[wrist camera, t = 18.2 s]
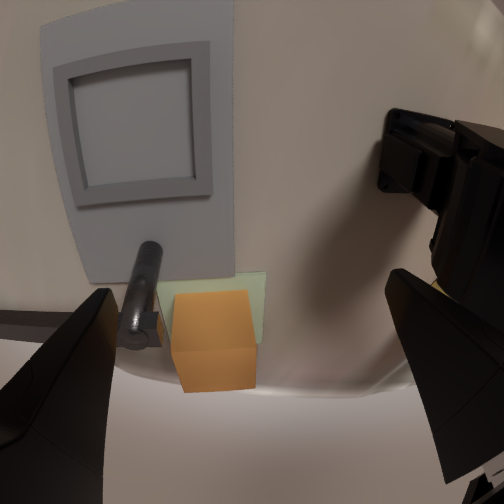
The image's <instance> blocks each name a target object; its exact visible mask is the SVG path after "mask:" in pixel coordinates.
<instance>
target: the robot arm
mask: <svg viewBox="0 0 504 504" xmlns="http://www.w3.org/2000/svg"><path fill="white" fill-rule="evenodd" d="M395 113H397V114H398V116H397V117H396V118H395ZM450 125H451V127H450ZM385 183H386V185H385V186H384V187H383V185H384V184H385ZM377 186H378V189H379V190H381V191H382V192H386V193H411V194H412V195H413V196H414V197H415V198H417V199H418V200H419V201H420V202H421V203H422V204H423V205H424V206H426V207H427V208H428V209H430V210H431V211H432V212H434V213H435V214H436V215H437V216H438V221H437V225H436V228H435V232H434V235H433V238H432V239H431V241H430V244H429V248H430V251H431V253H432V254H431V264H432V267H433V269H434V271H435V274H436V276H437V280H436V282H437V284H438V286H439V287H440V288H441V289H442V290H443V291H444V292H445V294H447V295H448V296H449V297H448V296H447V295H445V294H443V293H442V292H440V291H439V290H437V289H436V288H434V287H432V286H431V285H429V284H428V283H426V282H424V281H423V280H421V279H420V278H418V277H416V276H415V275H413V274H411V273H410V272H408V271H407V270H405V269H402V268H400V269H393V270H392V271H391V272H390V275H389V278H388V281H387V283H386V286H385V296H386V299H387V302H388V305H389V309H390V312H391V315H392V318H393V322H394V325H395V328H396V331H397V334H398V337H399V339H400V342H401V344H402V347H403V350H404V352H405V355H406V357H407V360H408V363H409V365H410V368H411V371H412V374H413V376H414V379H415V382H416V385H417V388H418V391H419V393H420V396H421V399H422V402H423V405H424V409H425V412H426V415H427V418H428V421H429V424H430V427H431V431H432V434H433V439H434V442H435V445H436V449H437V453H438V457H439V460H440V464H441V468H442V472H443V476H444V481H445V483H446V484H448V483H450V482H452V481H454V480H456V479H458V478H460V477H462V476H464V475H466V474H467V473H469V472H471V471H473V470H474V469H476V468H478V467H480V466H481V465H482V467H483V469H484V473H482V474H481V475H479V476H478V477H476V478H475V479H474V480H472V481H470V484H469V486H468V489H467V492H466V494H465V497H464V499H463V502H462V504H504V130H502V129H499V128H495V127H490V126H486V125H481V124H476V123H471V122H465V121H460V120H455V122H453V121H451V120H448V119H444V118H440V117H436V116H432V115H427V114H423V113H418V112H413V111H408V110H403V109H398V108H393V109H391V110H390V112H389V117H388V125H387V132H386V135H385V137H384V144H383V150H382V156H381V162H380V174H379V179H378V185H377ZM118 314H119V313H118V306H117V304H116V301H115V298H114V295H113V293H112V290H111V289H110V288H98V289H97V290H96V291H95V292H94V293H92V294H91V295H90V296H89V297H88V298H87V299H86V300H85V301H84V302H83V303H82V304H81V305H80V306H79V307H78V308H77V309H76V310H75V311H74V312H73V313H72V314H71V315H70V316H69V317H68V318H67V319H66V320H65V321H64V322H63V323H62V325H61V326H60V327H59V328H58V329H57V330H56V331H55V332H54V333H53V334H52V335H51V336H50V337H49V338H48V339H47V340H46V341H45V342H44V343H43V345H42V346H41V347H40V348H39V349H38V350H37V351H36V352H35V353H34V354H33V355H32V357H31V358H30V360H28V361H27V362H26V363H25V364H24V366H23V367H22V368H21V369H20V370H19V371H18V372H17V373H16V374H15V375H14V377H13V378H12V379H11V380H10V381H9V382H8V383H7V384H6V385H5V386H4V387H3V388H2V389H1V390H0V504H103V477H102V476H103V465H104V448H105V436H106V425H107V415H108V406H109V398H110V391H111V383H112V377H113V370H114V364H115V356H116V341H117V327H118Z"/></svg>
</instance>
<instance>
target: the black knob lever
mask: <svg viewBox="0 0 504 504" xmlns="http://www.w3.org/2000/svg"><path fill="white" fill-rule="evenodd" d="M162 257H163V248H162V247H161V245H160V244H158V243H157V242H155V241H145V242H143V243H142V244H141V245H140V247H139V250H138V253H137V257H136V260H135V263H134V267H133V270H132V273H131V277H130V280H129V284H128V288H127V291H126V295H125V299H124V303H123V306H122V310H121V312H118V313H119V314H118V327H117V341H116V347H125V348H127V349H130V350H142V349H144V348H146V347H162V343H163V333H164V329H163V326H162V322H161V318H160V314H159V312H153V308H154V302H155V296H156V290H157V284H158V279H159V273H160V268H161V262H162ZM72 313H73V312H39V311H14V310H0V339H7V340H16V341H26V342H36V343H44V342H45V341H46V340H47V339H48V338H49V337H50V336H51V335H52V334H53V333H54V332H55V331H56V330H57V329H58V328H59V327H60V326H61V325H62V323H63V322H64V321H65V320H66V319H67V318H68V317H69V316H70V315H71V314H72Z"/></svg>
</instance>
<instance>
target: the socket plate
mask: <svg viewBox="0 0 504 504" xmlns="http://www.w3.org/2000/svg"><path fill="white" fill-rule="evenodd" d="M233 35H234V0H130V1H125V2H120V3H116V4H111V5H107V6H103V7H99V8H95V9H91V10H87V11H84V12H80V13H77V14H74V15H71V16H67V17H64V18H61V19H58V20H56V21H53V22H50V23H47V24H45V25H42V26H40V46H41V69H42V83H43V93H44V102H45V111H46V118H47V125H48V131H49V137H50V143H51V149H52V154H53V159H54V164H55V168H56V173H57V177H58V182H59V186H60V190H61V194H62V198H63V202H64V206H65V209H66V213H67V216H68V220H69V223H70V227H71V230H72V233H73V237H74V240H75V243H76V246H77V249H78V252H79V255H80V258H81V261H82V264H83V266H84V269H85V272H86V275H87V277H88V280H89V283H118V282H129V280H130V277H131V273H132V270H133V267H134V263H135V260H136V257H137V253H138V250H139V247H140V245H141V244H142V243H143V242H145V241H155V242H157V243H158V244H160V245H161V247H162V248H163V257H162V262H161V268H160V273H159V279H158V281H165V280H185V279H204V278H221V277H235V245H234V181H233Z"/></svg>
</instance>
